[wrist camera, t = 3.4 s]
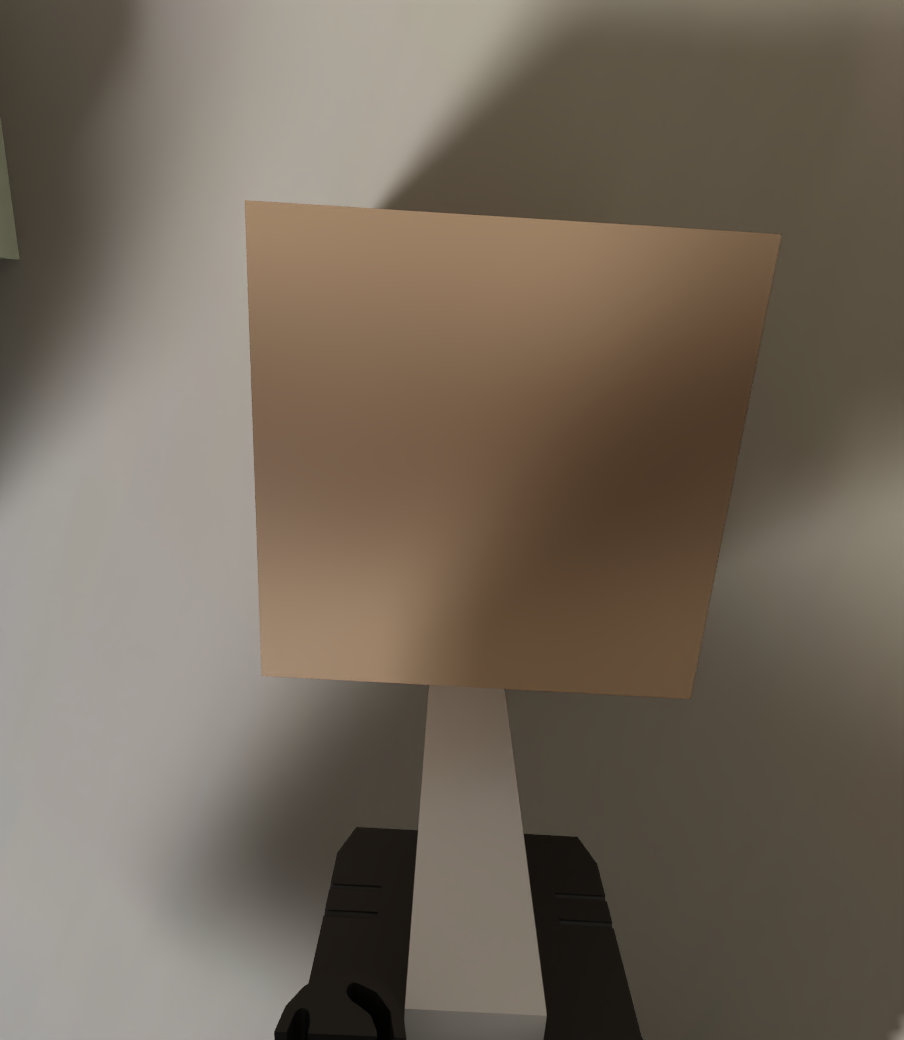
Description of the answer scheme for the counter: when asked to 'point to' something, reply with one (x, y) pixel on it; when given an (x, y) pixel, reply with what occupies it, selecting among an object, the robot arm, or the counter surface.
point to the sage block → (6, 210)
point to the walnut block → (495, 443)
